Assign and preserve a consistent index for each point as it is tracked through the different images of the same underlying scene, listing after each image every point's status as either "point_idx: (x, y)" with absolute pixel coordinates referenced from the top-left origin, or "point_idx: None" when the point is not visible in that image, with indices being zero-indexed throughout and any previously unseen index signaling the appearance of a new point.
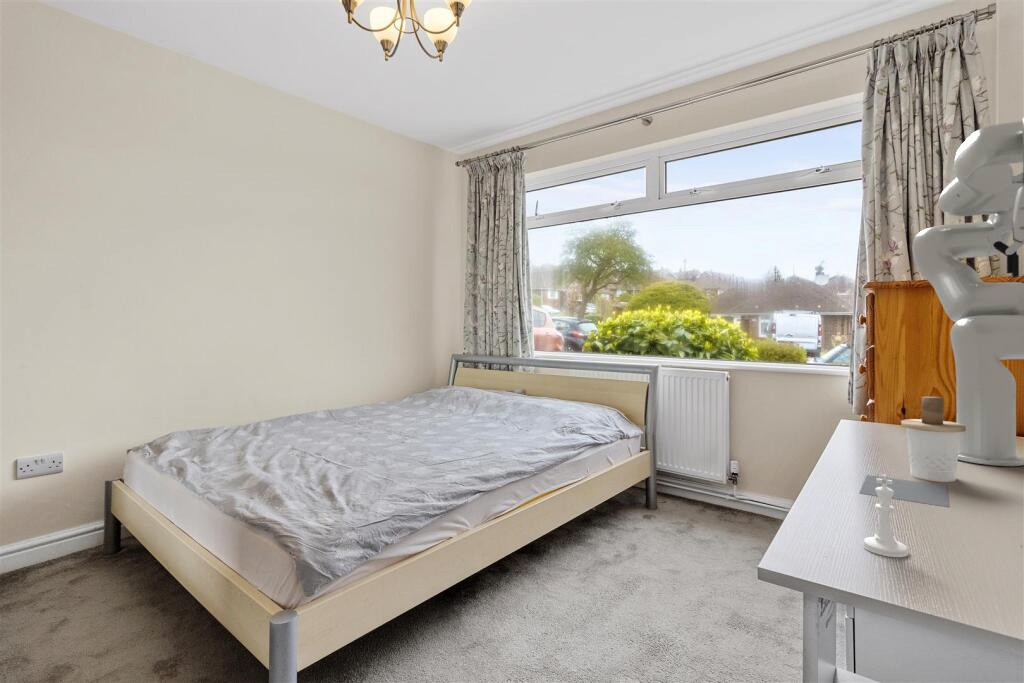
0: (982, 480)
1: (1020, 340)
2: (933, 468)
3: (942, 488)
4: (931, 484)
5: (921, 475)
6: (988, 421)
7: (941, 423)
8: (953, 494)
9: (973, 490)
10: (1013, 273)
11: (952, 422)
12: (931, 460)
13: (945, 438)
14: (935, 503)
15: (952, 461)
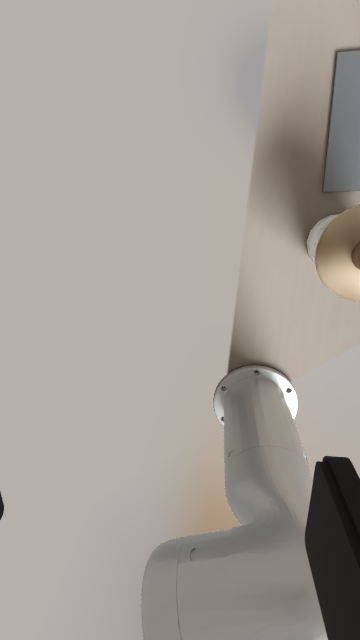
0: (273, 271)
1: (221, 549)
2: None
3: (331, 169)
4: (343, 185)
5: None
6: (261, 409)
7: (356, 245)
8: (319, 157)
9: (291, 201)
10: (352, 469)
11: (332, 286)
12: None
13: None
14: (353, 61)
15: (321, 226)
